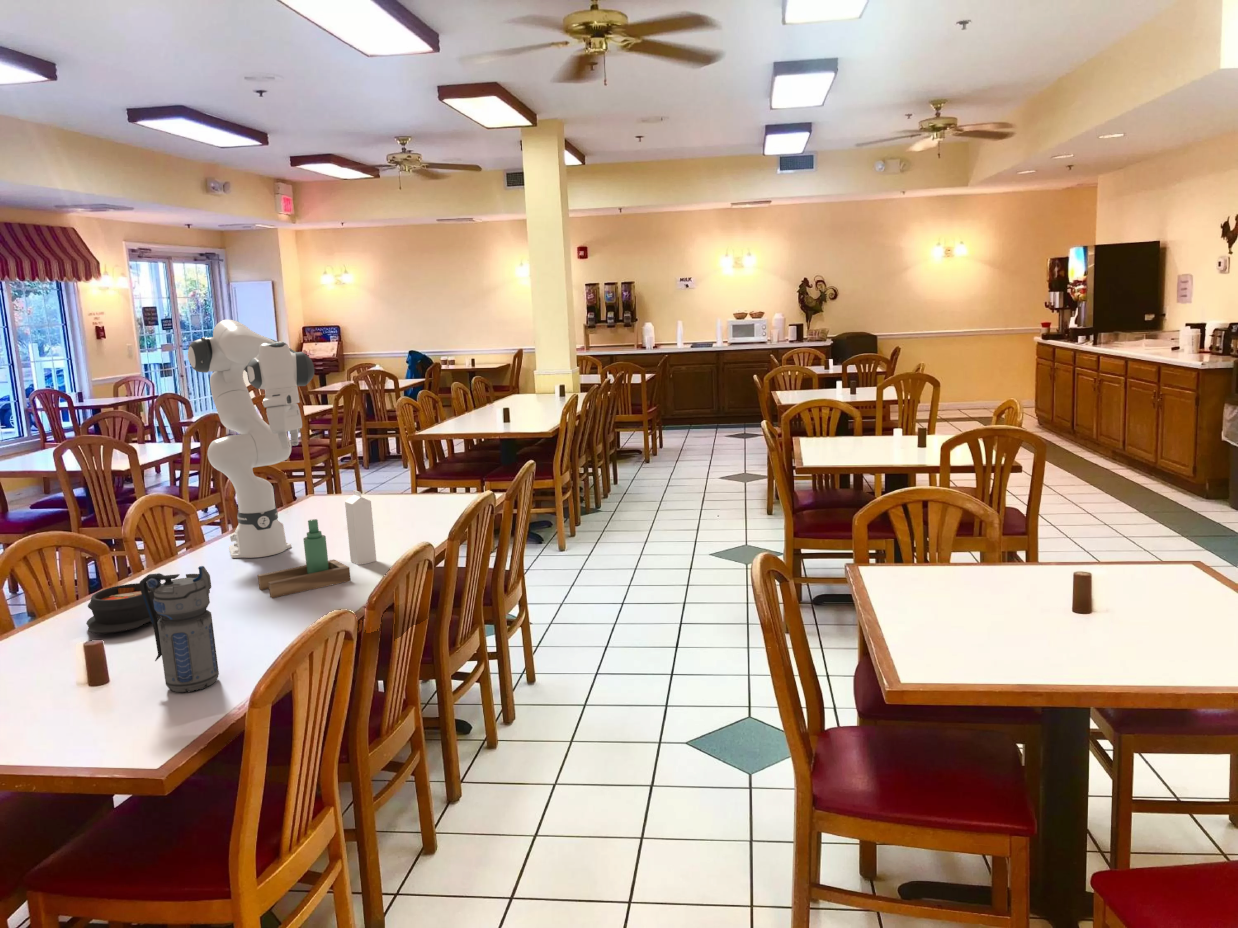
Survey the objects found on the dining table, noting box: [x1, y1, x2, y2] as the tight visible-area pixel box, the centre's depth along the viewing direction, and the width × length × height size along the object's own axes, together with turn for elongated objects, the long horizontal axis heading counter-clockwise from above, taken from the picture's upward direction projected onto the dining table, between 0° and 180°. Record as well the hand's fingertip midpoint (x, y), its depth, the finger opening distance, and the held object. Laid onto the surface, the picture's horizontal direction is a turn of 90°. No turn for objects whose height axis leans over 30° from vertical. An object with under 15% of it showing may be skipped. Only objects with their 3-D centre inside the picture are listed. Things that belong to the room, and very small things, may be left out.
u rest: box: [257, 559, 352, 599], centre depth 264 cm, size 12×22×4 cm, turn 127°
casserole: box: [86, 582, 161, 634], centre depth 237 cm, size 25×19×8 cm
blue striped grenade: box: [139, 565, 220, 693], centre depth 192 cm, size 10×13×25 cm
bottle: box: [303, 518, 329, 574], centre depth 265 cm, size 6×6×18 cm
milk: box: [344, 489, 377, 566], centre depth 285 cm, size 6×6×22 cm
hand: (290, 446), depth 267 cm, fingers open, 8 cm apart
